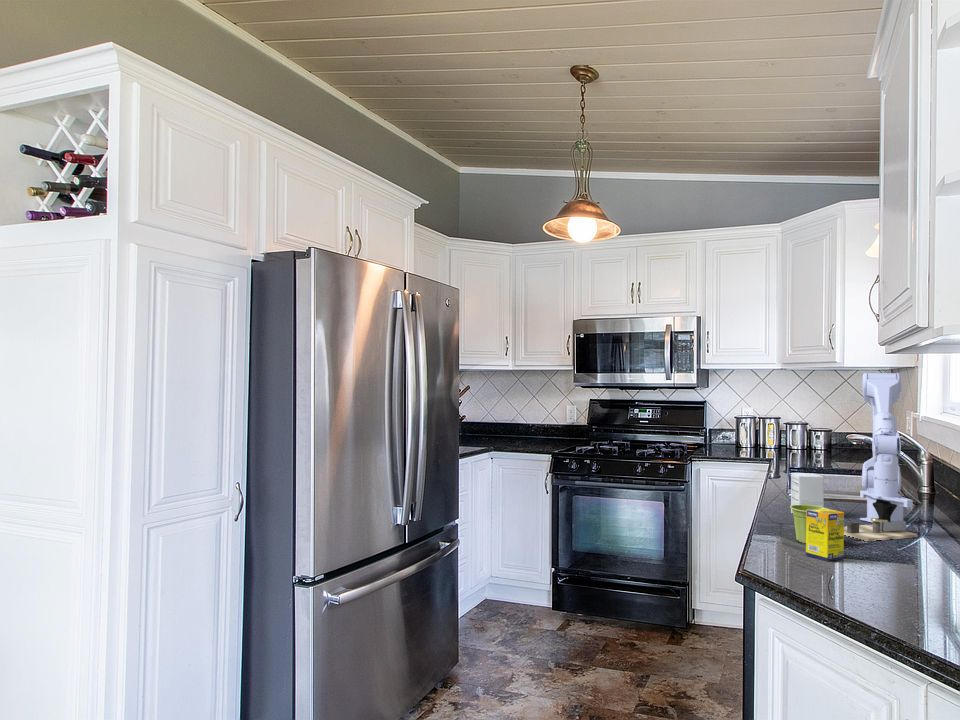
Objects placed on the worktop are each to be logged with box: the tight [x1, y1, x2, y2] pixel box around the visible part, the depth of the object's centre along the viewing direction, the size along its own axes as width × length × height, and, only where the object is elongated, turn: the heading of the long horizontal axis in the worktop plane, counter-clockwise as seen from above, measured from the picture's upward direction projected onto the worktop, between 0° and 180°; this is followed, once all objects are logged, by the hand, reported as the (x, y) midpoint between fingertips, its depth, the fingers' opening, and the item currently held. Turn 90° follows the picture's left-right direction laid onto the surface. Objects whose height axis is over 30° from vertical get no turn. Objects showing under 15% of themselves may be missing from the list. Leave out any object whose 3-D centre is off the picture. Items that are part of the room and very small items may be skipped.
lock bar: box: [871, 518, 907, 532], centre depth 189 cm, size 10×3×3 cm, turn 105°
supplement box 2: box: [805, 507, 845, 562], centre depth 164 cm, size 6×6×11 cm
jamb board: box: [844, 521, 918, 542], centre depth 190 cm, size 18×13×4 cm
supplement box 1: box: [790, 472, 825, 514], centre depth 214 cm, size 7×7×13 cm
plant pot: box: [790, 505, 829, 544], centre depth 179 cm, size 9×9×9 cm
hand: (885, 528), depth 191 cm, fingers closed, pressing on lock bar
